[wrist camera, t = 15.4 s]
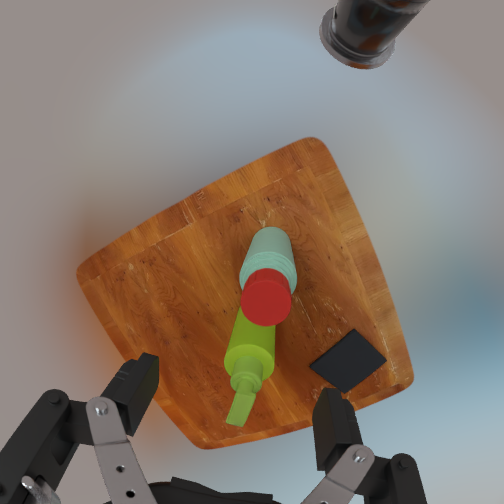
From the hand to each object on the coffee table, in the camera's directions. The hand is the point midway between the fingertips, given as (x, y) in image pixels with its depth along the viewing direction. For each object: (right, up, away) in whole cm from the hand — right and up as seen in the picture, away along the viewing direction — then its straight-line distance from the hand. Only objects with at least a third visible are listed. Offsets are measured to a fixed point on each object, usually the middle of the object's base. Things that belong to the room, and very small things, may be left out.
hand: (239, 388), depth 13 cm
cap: (+2, +3, +13) cm, 14 cm away
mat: (+17, -13, +33) cm, 40 cm away
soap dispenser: (+1, -4, +32) cm, 33 cm away
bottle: (+3, +7, +29) cm, 30 cm away
